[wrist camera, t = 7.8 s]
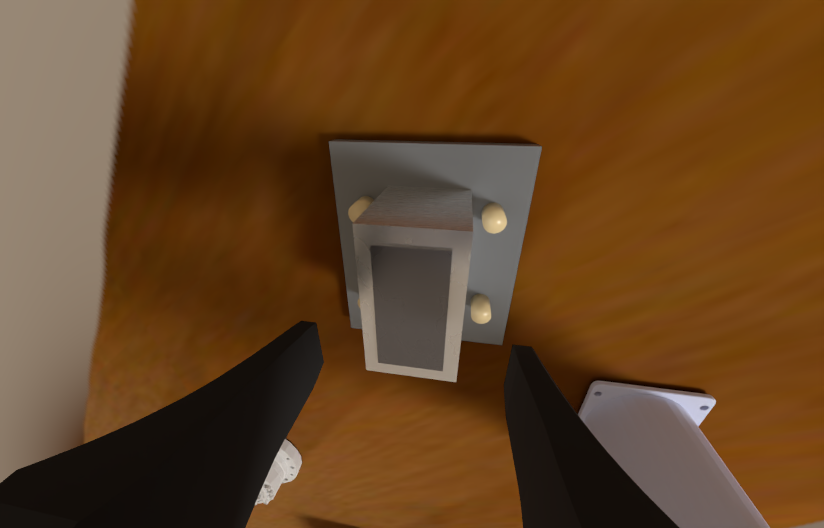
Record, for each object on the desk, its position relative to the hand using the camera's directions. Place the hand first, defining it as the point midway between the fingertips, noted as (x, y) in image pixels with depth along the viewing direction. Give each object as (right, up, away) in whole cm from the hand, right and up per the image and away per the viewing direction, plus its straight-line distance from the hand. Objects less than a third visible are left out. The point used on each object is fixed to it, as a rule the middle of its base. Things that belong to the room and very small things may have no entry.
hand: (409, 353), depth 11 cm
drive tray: (+1, +4, +8) cm, 9 cm away
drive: (+1, +4, +7) cm, 8 cm away
